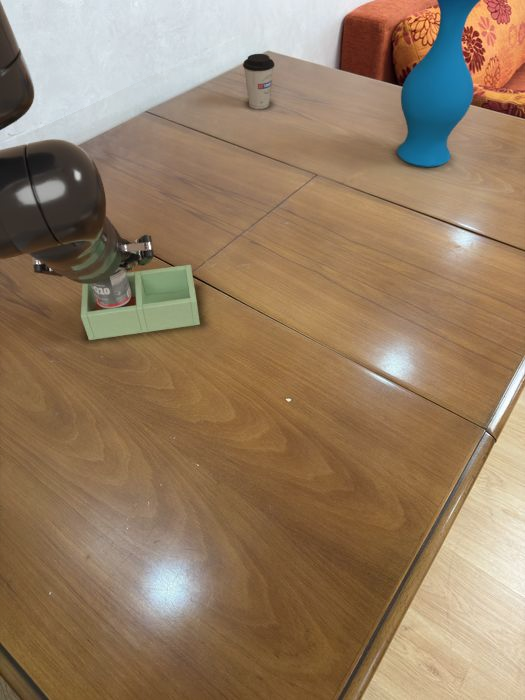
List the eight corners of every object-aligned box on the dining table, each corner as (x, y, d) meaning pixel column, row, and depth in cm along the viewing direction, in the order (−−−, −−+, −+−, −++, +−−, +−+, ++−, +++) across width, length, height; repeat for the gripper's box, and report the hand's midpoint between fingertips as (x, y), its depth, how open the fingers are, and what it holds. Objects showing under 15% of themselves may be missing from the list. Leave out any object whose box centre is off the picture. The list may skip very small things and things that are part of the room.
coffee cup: (237, 104, 123) (235, 57, 116) (260, 95, 126) (259, 49, 119) (258, 113, 120) (257, 66, 112) (280, 104, 123) (281, 57, 115)
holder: (89, 340, 72) (80, 316, 69) (90, 301, 77) (82, 278, 74) (199, 324, 74) (196, 300, 71) (193, 288, 79) (190, 264, 76)
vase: (445, 178, 100) (490, 4, 79) (381, 162, 104) (408, -6, 84) (463, 150, 107) (508, -15, 86) (402, 137, 111) (432, -24, 91)
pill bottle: (89, 301, 72) (71, 250, 66) (114, 282, 75) (100, 231, 69) (114, 314, 70) (98, 263, 64) (139, 294, 73) (126, 243, 67)
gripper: (145, 196, 55) (157, 230, 71) (-1, 213, 53) (47, 244, 70) (156, 269, 55) (166, 286, 72) (11, 289, 53) (56, 301, 70)
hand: (107, 265), depth 71 cm, fingers closed on pill bottle, 4 cm apart
